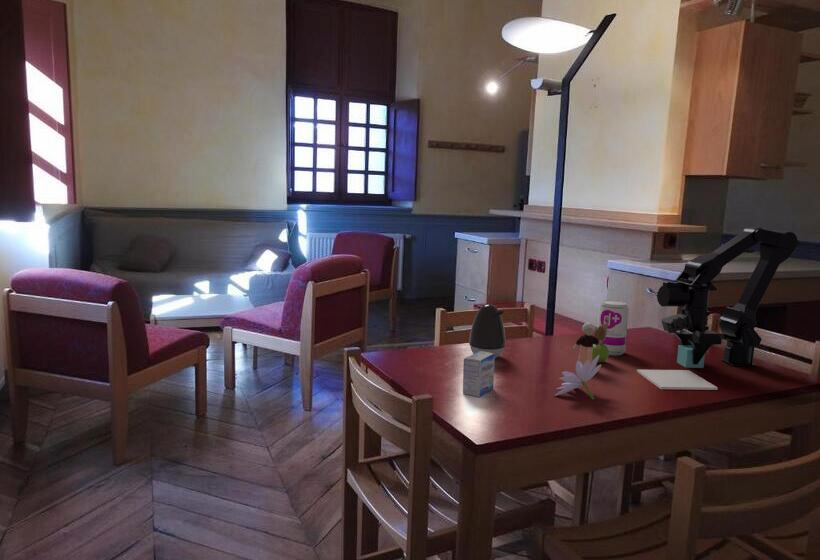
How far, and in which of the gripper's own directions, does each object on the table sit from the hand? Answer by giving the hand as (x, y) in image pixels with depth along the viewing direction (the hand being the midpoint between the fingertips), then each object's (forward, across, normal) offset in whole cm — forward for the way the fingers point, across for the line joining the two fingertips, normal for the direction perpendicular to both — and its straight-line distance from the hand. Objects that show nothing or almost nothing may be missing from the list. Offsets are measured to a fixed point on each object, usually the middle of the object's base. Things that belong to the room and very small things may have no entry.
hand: (690, 361), depth 166 cm
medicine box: (+1, +24, -63) cm, 67 cm away
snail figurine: (+1, -2, -25) cm, 25 cm away
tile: (+1, +14, -11) cm, 18 cm away
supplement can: (+1, -12, -18) cm, 22 cm away
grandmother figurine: (+1, +5, -31) cm, 31 cm away
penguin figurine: (+1, -5, -56) cm, 56 cm away
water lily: (+1, +25, -40) cm, 47 cm away
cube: (+1, 0, 0) cm, 1 cm away
